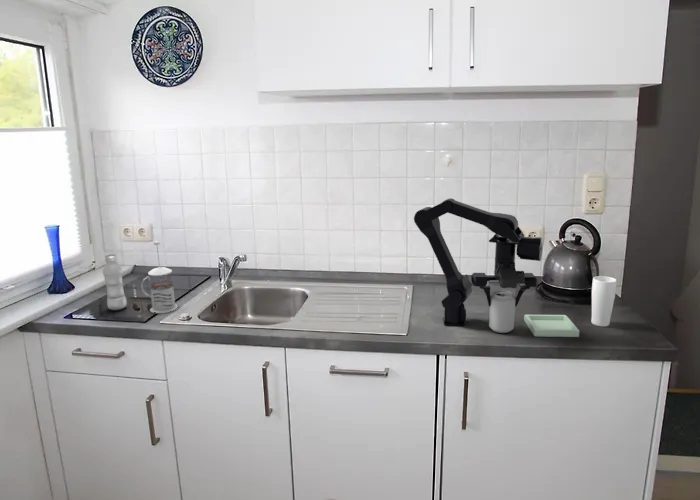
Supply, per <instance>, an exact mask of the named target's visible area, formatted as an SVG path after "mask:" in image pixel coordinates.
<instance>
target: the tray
mask: <svg viewBox="0 0 700 500" xmlns="http://www.w3.org/2000/svg"><path fill="white" fill-rule="evenodd" d="M523 321H524V322H525V325H526V326H527V328H529V330H530V332H531V333H532V335H533V337H541V338H542V337H545V338H546V337H549V338H550V337H553V338H554V337H555V338H557V337H559V338H561V337H562V338H579V337H580V329H578V327H577V326H576V325H575V323H574V322H573V321H572V320H571V319H570V318H569V317H568V316H567V315H566V314H524V317H523Z"/></svg>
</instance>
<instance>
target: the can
mask: <svg viewBox="0 0 700 500" xmlns="http://www.w3.org/2000/svg"><path fill="white" fill-rule="evenodd" d="M490 299H491V305H490V306H489V313H488V314H489V316H488V317H489V318H488V327H489V328H490V329H491V331H493V332H495V333H501V334H505V333H510V332H511V331H512V330H514V328H515V318H516V317H515V313H516V307H515V300H516V299H515V293H513V292H512V291H509V290H505V289H496V290H494V291H492V293H491V294H490Z"/></svg>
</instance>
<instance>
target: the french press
mask: <svg viewBox="0 0 700 500" xmlns="http://www.w3.org/2000/svg"><path fill="white" fill-rule="evenodd" d="M153 244H154V245H155V246H156V251H157V253H159V248H158V246H159V245H160V244H161V243H160V241H158V240H155V241H154V242H153ZM157 259H158V262H160V258H159V254H157ZM172 272H173V270H172V269H170V268H168V267H166V266H165V267H164V266H161V265H160V263H158V267H155V268H152V269H151V270H150V271H148V272H147V274H148V275H147V276H146V277H144V278H143V280H142V282H141V285H140V289H141V291H142V293H143V295H145V296H146V297H148V298H150V300H151V308H150V309H149V312H151V313H154V312H156V313H154V314H165V313H169V312H170V311H171V312H174V311H176V310H177V309H178V308H179V306H177V305H178V304H176V300H175V290H174V284H172V283H173V282H172V280H170V279H162V276H167V275H170V274H171V273H172ZM151 277H159V278H160V279H159V280H154V281H152V282H151V283H150V285H151V287H150V294H148V293H147V292H146V291H145V289H144V285H143V283H144V282H145V280H147V279H148V281H149V282H150V281H151ZM177 307H178V308H177ZM176 308H177V309H176ZM175 309H176V310H175ZM173 310H174V311H173Z"/></svg>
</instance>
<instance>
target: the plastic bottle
mask: <svg viewBox="0 0 700 500" xmlns="http://www.w3.org/2000/svg"><path fill="white" fill-rule="evenodd" d="M104 259H105V260H104V262H106V263H105V265H104V266H103V268H102V275H103V277H104V278H103V279H104V281H105V285H106V293H107V295H106V297H107V298H106V304H107V307H108V309H109V310H111V311H119V310H120V311H121V310H123V309H125V308H126V306H127V297H126V296H125V292H124V291H125V290H124V286H123V285H124V284H123V268H122V266H121V265H120V264H119V262H117V261H118V259H117V255H116V254H114V253H113V254H107V255H104Z"/></svg>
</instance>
